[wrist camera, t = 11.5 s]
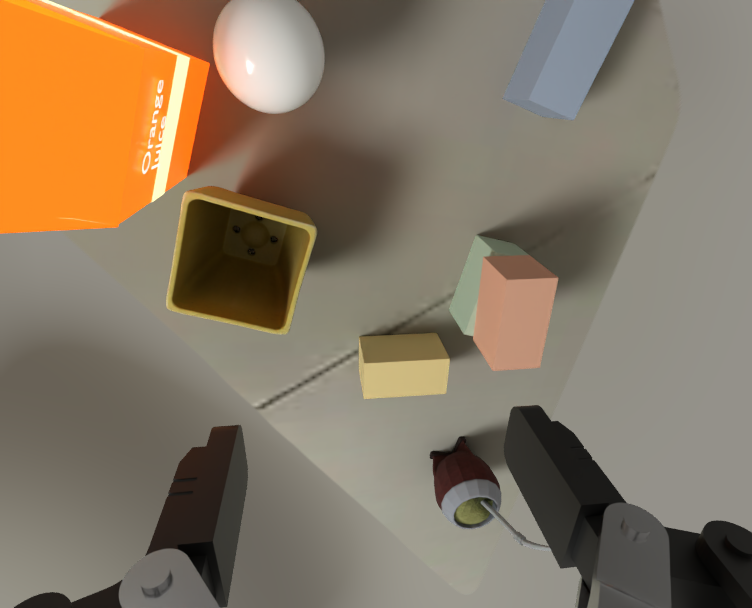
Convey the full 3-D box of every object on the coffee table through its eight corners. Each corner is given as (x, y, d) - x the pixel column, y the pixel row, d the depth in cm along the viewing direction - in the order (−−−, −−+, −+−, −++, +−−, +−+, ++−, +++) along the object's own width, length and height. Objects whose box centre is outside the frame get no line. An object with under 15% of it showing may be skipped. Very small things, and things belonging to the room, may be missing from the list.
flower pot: (212, 165, 35) (183, 188, 27) (318, 198, 37) (319, 227, 29) (194, 264, 39) (164, 310, 31) (292, 288, 41) (287, 337, 33)
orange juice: (82, 143, 33) (-181, 205, 16) (96, 15, 30) (-217, -91, 12) (189, 178, 35) (64, 269, 18) (212, 63, 32) (89, 31, 14)
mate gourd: (418, 474, 54) (453, 602, 40) (438, 424, 50) (483, 545, 37) (473, 479, 55) (524, 604, 42) (496, 432, 52) (559, 550, 39)
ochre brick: (358, 368, 46) (363, 399, 41) (359, 335, 44) (364, 363, 40) (433, 364, 47) (445, 393, 42) (436, 332, 45) (449, 358, 41)
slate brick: (550, -12, 33) (587, -28, 29) (592, 12, 34) (634, 0, 30) (501, 98, 36) (528, 99, 32) (542, 116, 37) (573, 120, 33)
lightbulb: (332, 96, 34) (340, 98, 24) (254, 118, 34) (230, 130, 24) (306, 0, 31) (303, -40, 21) (221, 25, 31) (179, -5, 21)
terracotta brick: (483, 256, 36) (507, 279, 32) (528, 254, 37) (558, 277, 32) (473, 339, 40) (493, 370, 35) (514, 337, 40) (539, 367, 36)
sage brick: (476, 234, 41) (495, 252, 36) (514, 243, 42) (537, 261, 37) (448, 309, 44) (463, 334, 40) (484, 316, 45) (503, 341, 40)
